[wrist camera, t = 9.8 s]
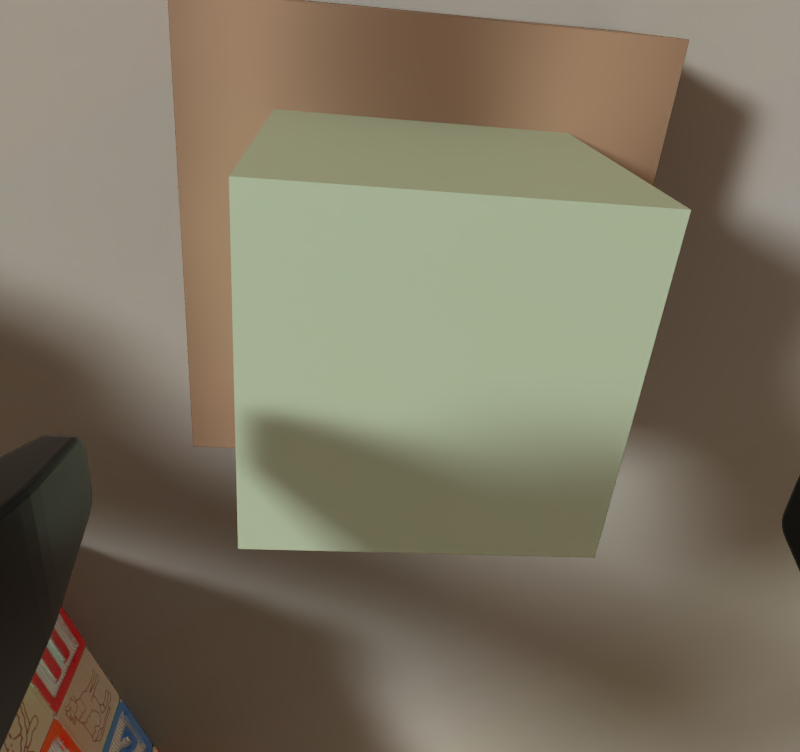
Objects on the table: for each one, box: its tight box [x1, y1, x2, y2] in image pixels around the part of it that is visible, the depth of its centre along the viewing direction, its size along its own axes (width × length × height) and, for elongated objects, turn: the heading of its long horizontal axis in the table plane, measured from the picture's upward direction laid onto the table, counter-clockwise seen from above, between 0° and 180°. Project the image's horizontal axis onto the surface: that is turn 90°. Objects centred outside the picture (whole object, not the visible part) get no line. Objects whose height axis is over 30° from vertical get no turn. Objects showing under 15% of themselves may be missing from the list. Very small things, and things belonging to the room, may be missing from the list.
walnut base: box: [168, 0, 689, 448], centre depth 18 cm, size 10×10×4 cm
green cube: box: [229, 109, 691, 558], centre depth 13 cm, size 6×6×6 cm
